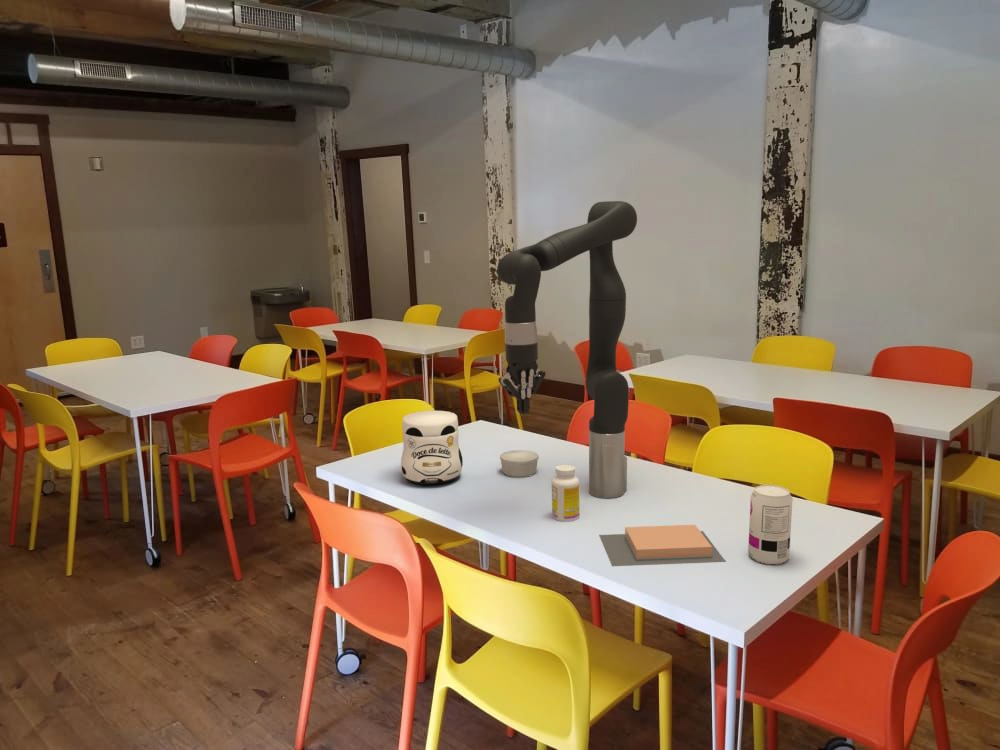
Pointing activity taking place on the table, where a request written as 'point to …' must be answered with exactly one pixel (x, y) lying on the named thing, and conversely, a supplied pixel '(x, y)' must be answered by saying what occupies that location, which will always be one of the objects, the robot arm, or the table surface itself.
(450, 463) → the milk container
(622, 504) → the table surface
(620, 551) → the mat
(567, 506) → the supplement bottle
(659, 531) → the tile
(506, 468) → the ramekin
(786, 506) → the supplement can
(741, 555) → the table surface
